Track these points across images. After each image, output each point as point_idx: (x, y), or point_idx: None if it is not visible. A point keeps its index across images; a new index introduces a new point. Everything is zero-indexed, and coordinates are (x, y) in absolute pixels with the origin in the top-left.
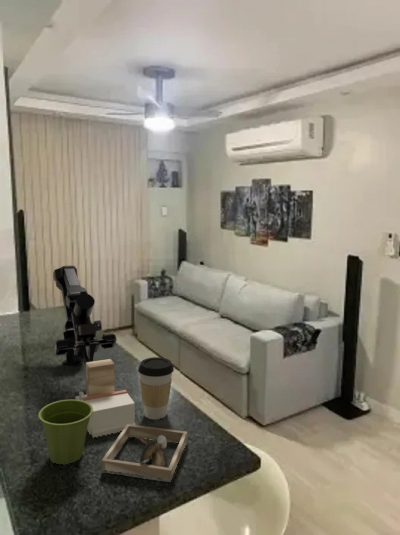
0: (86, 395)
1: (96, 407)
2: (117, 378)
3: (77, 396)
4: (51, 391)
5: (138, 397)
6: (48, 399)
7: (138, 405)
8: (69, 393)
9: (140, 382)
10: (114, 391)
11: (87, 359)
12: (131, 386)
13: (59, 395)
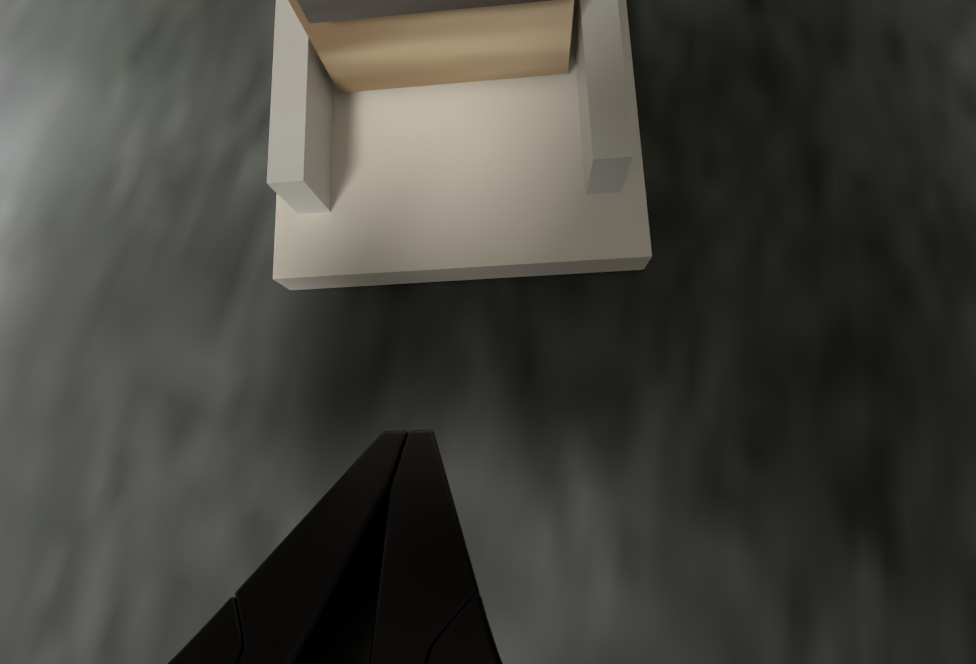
0: (541, 236)
1: None
2: (118, 646)
3: (633, 244)
4: (891, 582)
5: (114, 140)
6: (915, 383)
7: (171, 16)
8: (690, 448)
9: None
10: (276, 63)
11: (415, 556)
12: (73, 377)
13: (798, 438)
